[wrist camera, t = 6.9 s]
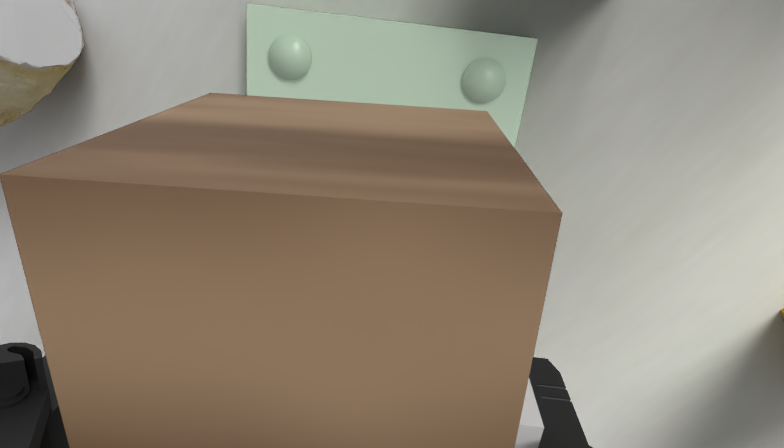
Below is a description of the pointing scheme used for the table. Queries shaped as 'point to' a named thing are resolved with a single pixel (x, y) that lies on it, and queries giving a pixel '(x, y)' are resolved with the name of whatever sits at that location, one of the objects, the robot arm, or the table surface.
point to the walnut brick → (287, 276)
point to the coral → (35, 51)
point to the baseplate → (387, 63)
